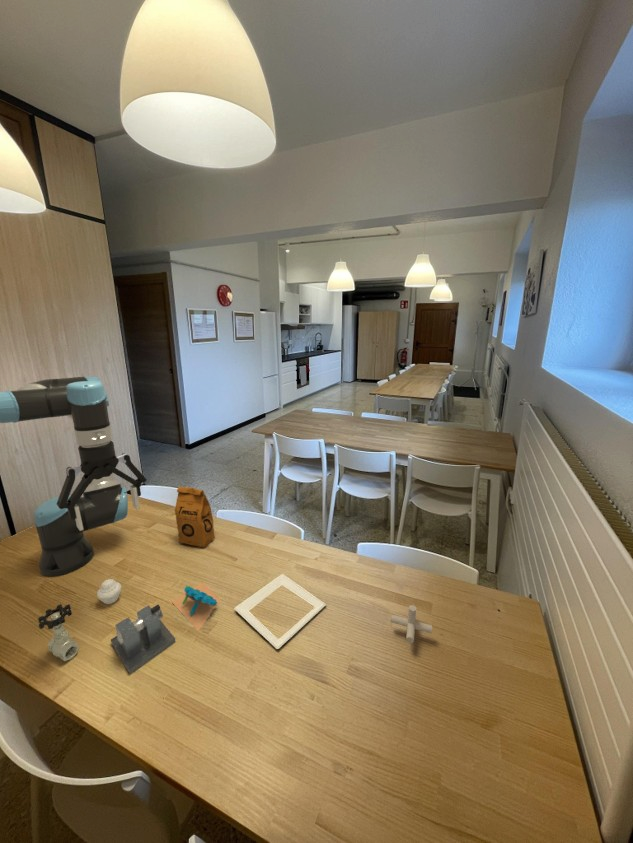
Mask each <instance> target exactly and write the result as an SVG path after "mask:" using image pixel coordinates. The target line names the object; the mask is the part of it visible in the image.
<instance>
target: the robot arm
mask: <svg viewBox="0 0 633 843" xmlns="http://www.w3.org/2000/svg"><path fill="white" fill-rule="evenodd" d="M104 386H105V385H104V384H103V382H102V381H101V379H100V378H99V377H98V376H77V377H65V378H64V377H63V378H49V379H43V380H42V379H41V380H38V381H34V382H30V383H27V384H24V385H22V386H20V387H19V388H18V389H17V390H11V391H10V390H4V391H0V424H7V423H13V424H14V423H19V422H26V421H32V420H33V421H34V420H40V419H48V418H51V419H52V418H57V417H58V418H59V417H68V418H70V419H71V420H72V423H73V428H74V434H75V439H76V443H77V445H78V448H77V449H78V454H79V459H80V465H79V466H76V467H72V466H67V467H66V469H65V470H66V471H65V472H66V477H65V480H64V483H63V485H62V488H61V490H60V494H59V495H58V496H55V497H54V498H51V499H49V500H46V501H44V502H43V503H41V504H40V505H39V506H37V508H36V509H35V510H34V512H33V519H34V526H35V527H36V532H37V536H38V539H39V544H40V547H41V553H40V554H41V555H40V560H39V563H38V564H39V565H38V567H39V571H40V573H41V575H42V576H44V577H47V578H55V577H56V578H57V577H61V576H65V575H69V574H71V573H73V572H76V571H78V570H79V569H82V568H83V567H85V566H86V565H87V564H89V562H90V561H92V560H93V557H94V555H95V552H94V549H93V546H92V545H91V543H90V542H89V540H88V539H87V537H85V535H84V532H85V531H86V532H87V531H90V530H93V529H96V528H100V527H103V526H106V525H109V524H115V523H116V522H119V521H122V520H125V519H126V518H127V517H128V514H129V512H128V511H129V500H128V499H129V498H128V491H127V487H125V486H122V484H121V482H120V481H118V480H116V479H115V475H116V476H118V477H120V478H121V479H123V480H125V481H127V482H128V483H129V484H130V485H129V489H130V495H131V496H130V497H131V501H132V507H133V508H135V509H136V510H140V508H141V507H140V502H139V501H140V500H139V497H140V496H141V495H142V491H141V487H142V484H143V483H146V482H147V478H146V477H145V476H144V475H143V473H142V472H141V471H140V470H139V469H138V468H137V466H135V465H134V463H133V462H132V461H131V460H132V459H131V456H130V455H129V454H127V453H126V452H122V454H121V455H119V456H116V450H115V444H114V441H112V440H113V434H112V427H111V422H110V418H109V412H108V407H109V405H110V402H109V399H108V395H107V391H106V389H105V387H104ZM119 462H121V463H122V464H125V466H126V467H127V468H128V469H129V470H130V471H131V473H133V474H134V476H135V477H136V479H134V478H133V477H131V476H129V475H128V474H126V473H125V472H123V471H122V470H119V469H118V468H116V467H117V466H118V464H119ZM81 472H82V473H83V476H82V477H81V480H80V481H79V483H78V484H77V485H76V487H75V489H74V490H73V492H72V489H73V486H74V484H75V481H76V477H77V476H78V475H79V473H81ZM71 492H72V493H71Z"/></svg>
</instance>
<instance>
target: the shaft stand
mask: <svg viewBox="0 0 633 843" xmlns="http://www.w3.org/2000/svg"><path fill="white" fill-rule="evenodd" d="M136 615H137V616H136V617H137V619H136V620H135V621H134V620H133V621H132V620H131V619H130V617H126V618H125V619H123V620H121V621H120V622H118V623H116V624H115V630H116V631H115V632H116V633H115V636H114V637H112V638H110V644H111V645H112V648H113V649H114V651H115V653H116V654H117V655H118V658H119V659H120V661H121V662H122V664H123V665H124V667H125V669H126V670H127V672H128V674H129V675H132V674H134V673H135V672H136V671H137V670H139V669H141V668H142V666H145V664H147V663H148V662H150V661H152V659H154V658H155V657H157V656H158V655H159V654H161V653H162V652H164V651H165V650H167V649H168V648H169V647H170V646H172V645H173V644H175V643H176V637H175V636H174V635H173V634H172V632H171V631H170V630H169V628H167V626H166V625H165V624H164V623H163V621H162V619H163V618H164V614H163V612H162V609H161V606H160V604H156V605H155V606H153V607H151V606H150V605H147V606H145V607H143V608H141V609H140V610H138V611H136Z"/></svg>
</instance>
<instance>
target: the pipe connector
mask: <svg viewBox="0 0 633 843" xmlns="http://www.w3.org/2000/svg"><path fill="white" fill-rule="evenodd" d="M407 613H408V614H407V618H406V617H401V616H399V615H393V614H391V617H390V623H393V624H395V625H399V626H403V627H406V638H405V640H406V642H407V643H409V644H414V642H415V630H418V631H422V632H425V633H428V634H432V631H433V625H432V624H429V623H424V622H421V621H416V617H417V615H416V614H417V607H416V606H415V605H414V604H411V605H409V606H408V612H407Z"/></svg>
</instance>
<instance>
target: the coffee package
mask: <svg viewBox="0 0 633 843" xmlns="http://www.w3.org/2000/svg"><path fill="white" fill-rule="evenodd" d="M176 492H177V496H176V497H177V498H176V501H175V502H176V503H175V508H174V514H175V521H176V527H177V533H178V543H181V544H185V545H190V546H193V547H199V548H206V547H207V546H208V545H209V544H210V543H212V542H213V541H214V539H215V528H214V518H213V513H212V509H211V508H212V507H211V504H210V503H209V502H210V501H209V500H208V498H207V495H206V494H205V492H204V490H202V489H198V488H194V487H190V486H189V487H188V486H187V487H186V486H178V488H177V490H176Z"/></svg>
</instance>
